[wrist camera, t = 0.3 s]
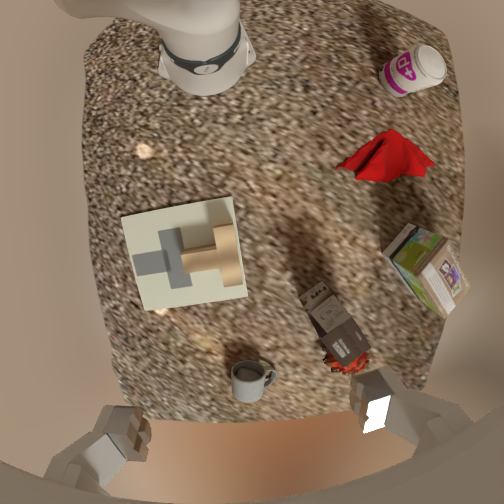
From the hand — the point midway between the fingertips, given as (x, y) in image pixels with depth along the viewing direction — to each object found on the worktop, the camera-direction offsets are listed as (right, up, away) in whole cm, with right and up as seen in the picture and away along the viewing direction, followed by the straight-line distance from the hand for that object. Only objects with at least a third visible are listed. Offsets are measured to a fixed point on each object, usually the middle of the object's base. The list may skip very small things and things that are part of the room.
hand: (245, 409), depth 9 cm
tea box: (+37, +4, +50) cm, 62 cm away
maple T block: (-7, +6, +45) cm, 46 cm away
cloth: (+29, +25, +44) cm, 59 cm away
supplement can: (+31, +43, +39) cm, 66 cm away
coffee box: (+15, -5, +51) cm, 53 cm away
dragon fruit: (+22, -18, +55) cm, 61 cm away
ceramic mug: (0, -22, +54) cm, 59 cm away
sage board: (-13, +5, +45) cm, 47 cm away
